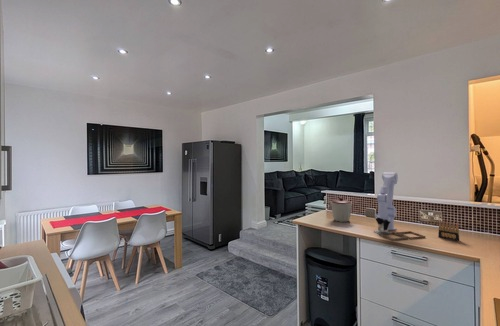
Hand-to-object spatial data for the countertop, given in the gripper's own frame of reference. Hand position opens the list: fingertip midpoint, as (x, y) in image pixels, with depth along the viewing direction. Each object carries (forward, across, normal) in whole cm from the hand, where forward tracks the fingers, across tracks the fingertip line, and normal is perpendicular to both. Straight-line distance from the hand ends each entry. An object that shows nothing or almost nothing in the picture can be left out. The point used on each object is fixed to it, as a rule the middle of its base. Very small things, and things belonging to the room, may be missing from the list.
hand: (383, 229), depth 173 cm
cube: (+1, 0, 0) cm, 1 cm away
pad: (+3, 0, 0) cm, 3 cm away
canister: (+3, -40, -9) cm, 41 cm away
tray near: (+3, +10, -1) cm, 11 cm away
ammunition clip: (+3, +22, +32) cm, 39 cm away
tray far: (+3, +10, +13) cm, 17 cm away
